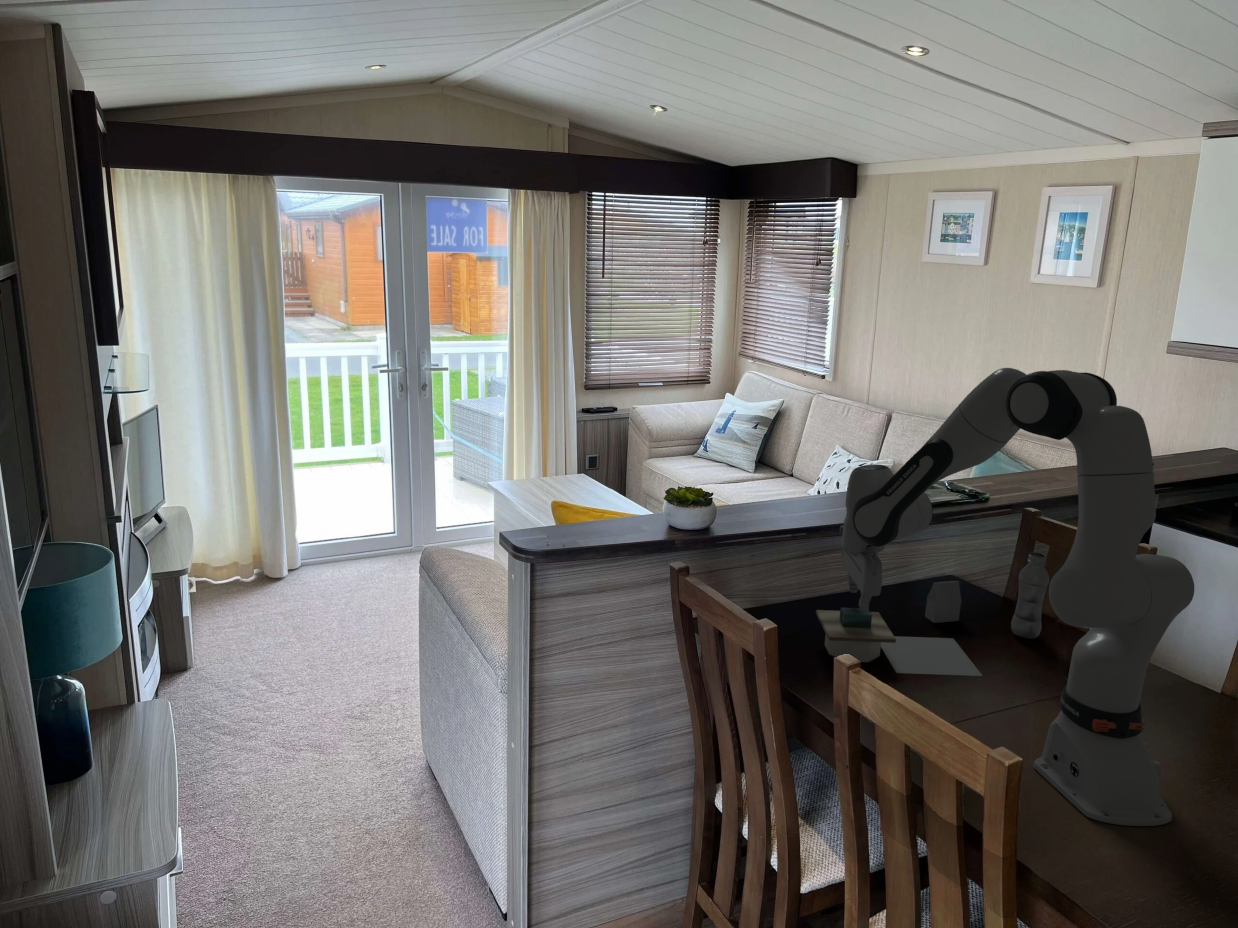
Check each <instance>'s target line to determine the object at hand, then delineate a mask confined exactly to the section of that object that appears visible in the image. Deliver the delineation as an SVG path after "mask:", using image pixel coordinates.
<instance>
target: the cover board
mask: <svg viewBox="0 0 1238 928" xmlns="http://www.w3.org/2000/svg"><path fill="white" fill-rule="evenodd" d="M815 614H816V617H817V618H818V620H819V623H820V625H821V626H822V629H823V631H824V633H825V636H826V635H827V637H828V639H829V640H830V641H857V642H885V643H896V638H895V637H894V636H895V635H894V634H893V632H892V630H891V629H890V627H889V626H888V624H887V623H886V621H885V620H884V619H883V617H882V615H881V614H880V612H879V611H870V609H867V610H862V609H860V607H859V608H858V607H840V609H839V610H829V609H827V610H824V609H816V610H815Z"/></svg>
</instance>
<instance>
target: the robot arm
mask: <svg viewBox="0 0 1238 928" xmlns="http://www.w3.org/2000/svg"><path fill="white" fill-rule="evenodd" d="M1020 430H1023V431H1025V432H1028V433H1030V434H1033V435H1037V436H1041V437H1045V438H1048V439H1049V438H1050V439H1053V440H1056V441H1060V440H1064V439H1067V440H1068V441H1069V442H1070V443H1071V444H1072V446H1073V448H1074V450H1075V454H1076V455H1075V456H1076V470H1077V471H1076V473H1077V475H1076V476H1077V492H1078V493H1077V494H1078V496H1077V498H1078V522H1077V527H1076V528H1077V529H1076V533H1075V538H1074V540H1073V543H1072V546H1071V549H1070V552H1069V553H1068V556H1067V558H1066V559H1065V562H1064V563H1063V565H1062V566H1061V567H1060V569H1058V571H1056V573H1055V574H1054V575H1053V576H1052V578H1051V580H1050V581H1049V586H1048V599H1049V603H1050V606H1051V608H1052V610H1053V611H1054V613H1055V615H1056V616H1057V617H1058V618H1059V619H1060V620H1061V621H1062V622H1064V623H1065V624H1066V625H1068V626H1070V627H1076V628H1083V629H1084V628H1085V629H1089V630H1088V631H1087V632H1086V633H1085V634H1084V635H1083V636H1082V637H1081V638H1080V639H1079V640H1078V641H1077V642H1076V643H1075V645H1074V646H1073V649H1072V652H1071V653H1072V654H1071V660H1070V665H1069V671H1068V673H1069V675H1068V681H1066V684H1065V685H1064V687H1063V690H1062V692H1061V694H1060V695H1061V696H1060V704H1059V707H1060V711H1059V713H1058V715H1057V717H1055V719H1054V720H1053V721H1052V722H1051V723H1050V725H1049V728H1048V732H1047V734H1046V739H1045V742H1044V747H1043V750H1042V753H1041V756H1039V757H1037V758H1036V759H1035V760H1034V762H1033V765H1032V766H1033V769H1034V770H1036V771H1037V772H1038V773H1039V774H1040V775H1041V776H1042V777H1043V778H1044V779H1045V780H1046V781H1047V782H1048V783H1049V784H1050V785H1052V786H1053V787H1054V788H1055V789H1056V790H1057V791H1058V792H1059V793H1061V794H1062V796H1064V797H1065V799H1067V800H1068V801H1069V802H1070V803H1071V804H1072V805H1073V806H1074V807H1076V808H1077V809H1078V810H1079V811H1080V812H1081V813H1082V814H1083V815H1084V816H1086V817H1087V818H1089V819H1092V820H1095V821H1099V822H1102V823H1107V824H1113V825H1118V826H1127V827H1130V826H1131V827H1155V826H1161V825H1165V824H1166V825H1167V824H1168V823H1170V822H1171V821H1172V820H1173V813H1172V811H1171V810H1170V809H1169V806H1168V805H1167V804H1166V802H1165V800H1164V798H1163V796H1161V793H1160V792H1159V791H1160V778H1159V777H1160V776H1161V773H1162V766H1161V762H1159V761H1158V760H1157V761H1156V760H1152V757H1151V755H1150V751H1149V745H1148V743H1147V742H1145V740H1144V738H1143V735H1142V731H1143V730H1145V728H1143V726H1146V723H1143V713H1142V706H1141V702H1140V701H1141V697H1142V692H1143V687H1144V683H1145V678H1146V674H1147V671H1148V667H1149V663H1150V661H1151V659H1152V656H1153V655H1154V653H1155V651H1156V649H1157V647H1158V645H1159V643H1160V642H1161V640H1162V638H1163V636H1164V635H1165V633H1166V631H1167V630H1168V628H1169V626H1170V625H1171V624H1172V622H1173V621H1174V620H1175V619H1176V617H1178V615H1179V614H1180V613H1181V612H1183V610H1185V609H1186V608H1187V607H1189V605H1190V604H1191V603H1192V600H1193V599H1194V596H1195V582H1194V579H1193V578H1194V577H1193V576H1192V573H1191V571H1190V569H1188V567H1187V566H1186V565H1185V564H1184V563H1182V561H1179V560H1178V559H1177V558H1174V557H1171V556H1166V555H1159V554H1150V553H1140V554H1137V553H1138V549H1139V546H1140V543H1141V541H1142V539H1143V538H1144V535H1145V533H1147V532H1148V530H1149V529H1150V528H1151V527H1152V526H1153V525H1154V522H1156V521H1155V520H1156V517H1157V516H1156V515H1157V509H1156V493H1155V491H1156V490H1155V475H1154V461H1153V454H1152V446H1151V442H1150V438H1149V433H1148V430H1147V426H1146V422H1145V420H1144V418H1143V417H1142V415H1141V414H1140V413H1139V412H1138V411H1137V410H1135V409H1133V408H1130V407H1127V406H1123V405H1118V399H1117V394H1116V391H1115V389H1114V387H1113V386H1112V384H1111V383H1109V381H1108V380H1106V379H1105V378H1104V377H1101V376H1099V375H1098V374H1095V373H1091V372H1077V371H1072V370H1067V369H1056V370H1039V371H1034V372H1030V373H1025V372H1023V371H1021V370H1019V369H1016V368H1012V367H1002V368H999V369H997V370H995V371H993V372H991V374H989V375H988V376H986V378H984V379H983V380H982V381H980V383H978V385H977V386H975V387H974V388H973V389H972V390H971V391H970V392H969V393H968V394H967V395H966V396H965V397H964V398H963V399H962V401H961V402H960V403H959V404H958V405H957V407H956V408H955V409H954V410H952V412H951V413H950V415H949V416H948V417H947V418H945V421H943V423H942V424H941V425H940V427H938V429H937V430H936V431H935V432H934V433H933V434H932V435H931V436H930V438H929V439H927V441H926V442H925V443H924V444H923V445H922V446H921V448H919V449H918V450H917V451H916V453H914V454H913V455H912V456H911V457H910V458H909V459H908V460H907V461H906V462H905V463H904V464H903V465H902V466H901V467H900V468H899V469H898V470H897V472H895V473H893V472H892V470H891V468H890V467H889V466H886V465H883V464H865V465H861V466H857V467H855V468H854V469H852V471H851V473H850V476H849V478H848V483H847V489H846V495H845V508H846V514H845V518H844V520H843V525H840V527H839V535H840V536H841V540H840V541H841V544H840V547H841V548H840V556H841V557H840V558H841V559H840V560H841V563H842V566H843V567H844V569H845V570H846V572H847V580H848V583H847V584H848V586H847V589H848V591H849V593H851V594H852V593H854V594H857V593H858V592H859V591H860V598H859V599H858V607H859V608H860V609H862V610H867V609H869V608H870V602H871V600H872V597H878V596H880V595H881V593H882V583H883V563H882V560H881V559H880V557H879V553H880V552H883V551H884V550H885V547H886V545H888V544H890V543H892V542H893V541H897V540H899V539H904V538H906V537H907V538H908V537H909V536H912V535H915V534H919V533H920V532H922V531H924V530H926V529H927V528H928V527H929V526H930V524H931V522H932V520H933V516H934V507H933V504H932V502H931V500H930V497H929V496H928V495H927V494H926V492H927V491H928V490H929V489H930V488H931V487H933V486H934V485H935V484H936V483H938V482H940V481H941V480H943V479H945V478H947V477H949V476H953V475H954V474H957V473H959V472H962V471H964V470H968V469H971V468H973V467H977V466H979V465H981V464H983V463H984V462H986V461H988V460H989V459H991V458H992V457H994V456H995V455H996V454H997V453H998V452H1000V451H1001V450H1002V449H1003V448H1004V447H1005V446H1006V445H1007V444H1008V443H1009V442H1010V441H1011V440H1012V438H1013V437H1014V436H1015V435H1016V434H1017V433H1018V432H1019V431H1020ZM869 610H870V609H869Z"/></svg>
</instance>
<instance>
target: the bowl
mask: <svg viewBox="0 0 1238 928" xmlns="http://www.w3.org/2000/svg"><path fill="white" fill-rule="evenodd" d="M824 647H825V649H826V651H827V653H828V655H830V656H832V657H835V658H837V657H836V656H839V655H843V654H850V655H852V656H854V657H856V658H857V659H859V660H860V661H861V662H860V663H870V662H872V661H874V660H876V659H877V658H878V657H880V656H881V649H882V648H881V642H857V641H830V640H829V639H828V637H827V635H826V634H825V637H824Z"/></svg>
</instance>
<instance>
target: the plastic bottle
mask: <svg viewBox="0 0 1238 928" xmlns="http://www.w3.org/2000/svg"><path fill="white" fill-rule="evenodd" d="M1027 556H1028V557H1027V558H1026V559H1027V560H1026V561H1027V564H1026V565H1025V566H1024V567H1023V568H1022V569H1020V572H1019V573H1018V591H1017V592H1018V595H1017V602H1016V606H1015V610H1014V614H1013V616H1012V618H1011V622H1010V624H1011V625H1010V628H1011V631H1012V633H1013V634H1014V635H1015V636H1017V637H1019V638H1022V639H1026V640H1027V639H1028V640H1034V639H1036V638H1038V637H1039V636H1040V633H1041V632H1042V611H1043V604H1044V600H1045V599H1044V598H1045V596H1046V592H1047V588H1048V587H1049V586H1048V585H1049V584H1050V576H1049V574H1048V571H1047V569H1046V567H1045V566H1046V563H1047V562H1046V560H1047V555H1045V554H1044V553H1041V552H1037V551H1036V552H1035V551H1032V552H1031V551H1030V552H1029V553H1028V555H1027Z"/></svg>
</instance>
